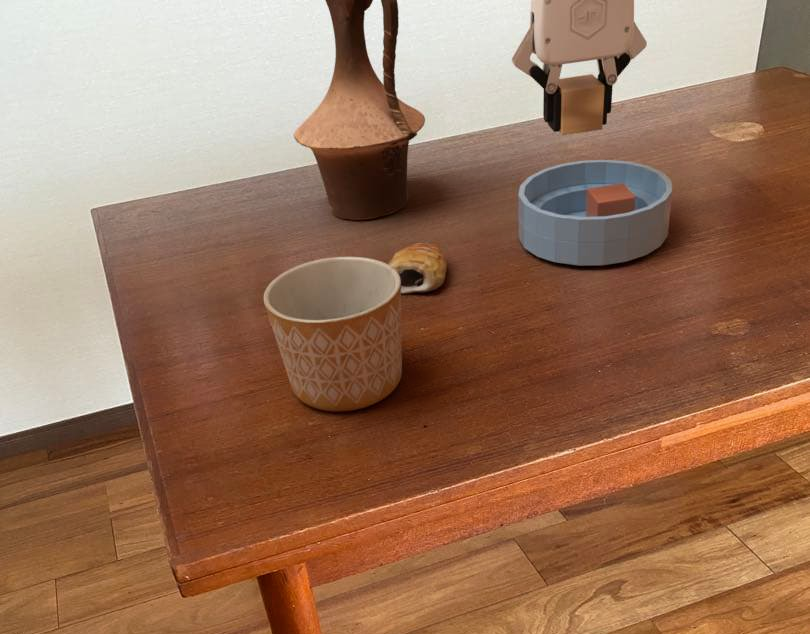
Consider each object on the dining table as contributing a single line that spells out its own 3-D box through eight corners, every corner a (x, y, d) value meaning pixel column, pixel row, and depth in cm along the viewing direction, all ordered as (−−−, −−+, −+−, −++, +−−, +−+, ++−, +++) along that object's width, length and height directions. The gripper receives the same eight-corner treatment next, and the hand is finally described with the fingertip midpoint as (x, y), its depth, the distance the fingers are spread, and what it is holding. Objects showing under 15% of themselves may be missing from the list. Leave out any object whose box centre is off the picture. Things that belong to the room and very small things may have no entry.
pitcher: (458, 194, 121) (445, -49, 102) (378, 242, 112) (347, -14, 93) (362, 173, 130) (334, -53, 111) (281, 216, 121) (234, -22, 102)
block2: (621, 219, 108) (623, 182, 105) (633, 234, 105) (636, 197, 102) (585, 225, 108) (586, 188, 105) (596, 240, 105) (597, 203, 102)
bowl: (638, 199, 113) (642, 151, 109) (689, 256, 101) (695, 204, 97) (505, 219, 113) (504, 172, 109) (539, 280, 100) (539, 228, 96)
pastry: (401, 258, 107) (398, 228, 105) (455, 259, 106) (454, 228, 103) (383, 295, 101) (379, 264, 98) (441, 297, 99) (439, 265, 97)
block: (590, 116, 101) (592, 73, 97) (602, 129, 97) (604, 85, 94) (551, 122, 100) (552, 79, 97) (562, 135, 97) (563, 91, 94)
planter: (277, 365, 92) (256, 271, 85) (395, 341, 93) (384, 246, 86) (293, 432, 83) (271, 333, 76) (424, 404, 84) (414, 304, 77)
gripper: (507, -54, 83) (509, 146, 96) (681, -78, 84) (662, 124, 96) (490, -66, 89) (495, 125, 101) (654, -89, 89) (639, 103, 102)
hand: (576, 122), depth 99 cm, fingers closed on block, 4 cm apart
